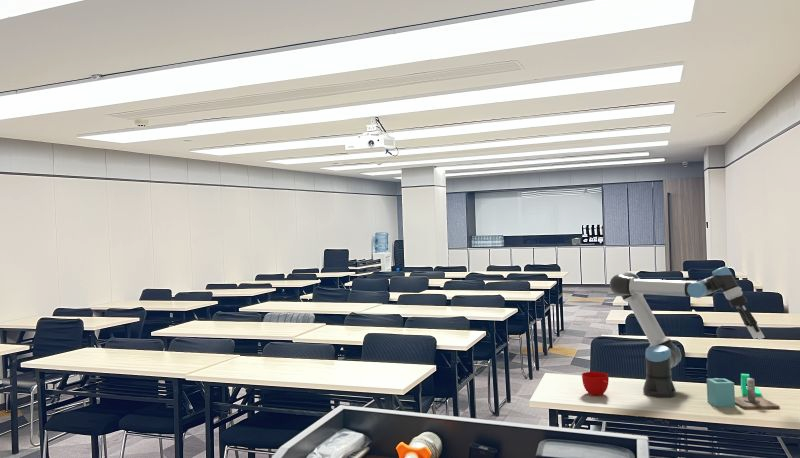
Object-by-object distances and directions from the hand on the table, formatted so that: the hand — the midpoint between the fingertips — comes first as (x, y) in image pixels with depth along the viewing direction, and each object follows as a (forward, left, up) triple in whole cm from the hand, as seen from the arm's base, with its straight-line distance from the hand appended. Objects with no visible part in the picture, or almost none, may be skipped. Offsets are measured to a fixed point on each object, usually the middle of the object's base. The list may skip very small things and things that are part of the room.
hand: (759, 338), depth 269 cm
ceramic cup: (-72, +15, -30) cm, 80 cm away
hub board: (-6, -3, -30) cm, 31 cm away
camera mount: (+1, +12, -30) cm, 33 cm away
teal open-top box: (-20, -3, -30) cm, 36 cm away
